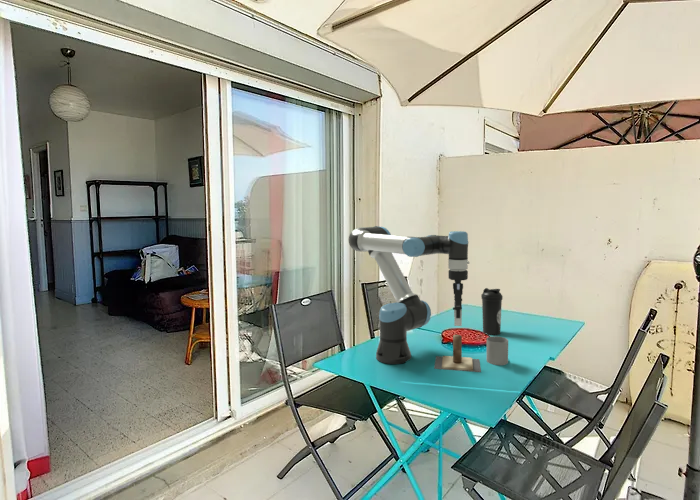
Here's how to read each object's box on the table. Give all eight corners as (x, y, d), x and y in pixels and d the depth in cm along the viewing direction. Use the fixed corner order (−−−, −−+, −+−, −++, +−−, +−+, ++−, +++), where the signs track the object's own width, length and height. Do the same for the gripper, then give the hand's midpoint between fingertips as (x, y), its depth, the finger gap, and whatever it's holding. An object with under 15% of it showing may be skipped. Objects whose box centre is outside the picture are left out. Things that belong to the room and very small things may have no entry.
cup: (509, 367, 161) (509, 343, 160) (488, 366, 162) (488, 342, 161) (505, 359, 169) (506, 336, 168) (485, 358, 171) (485, 335, 170)
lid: (441, 368, 160) (441, 339, 159) (442, 357, 171) (442, 330, 170) (473, 370, 157) (473, 341, 155) (472, 359, 168) (472, 332, 167)
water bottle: (499, 336, 199) (500, 291, 196) (479, 334, 204) (479, 289, 202) (503, 331, 207) (504, 288, 205) (483, 328, 213) (484, 286, 210)
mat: (434, 370, 160) (434, 368, 160) (435, 357, 173) (435, 356, 173) (481, 373, 155) (481, 372, 155) (479, 360, 168) (479, 359, 168)
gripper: (469, 274, 148) (468, 330, 150) (466, 265, 172) (466, 313, 174) (448, 274, 149) (448, 329, 152) (448, 265, 173) (448, 312, 176)
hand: (457, 321), depth 163 cm, fingers open, 13 cm apart
